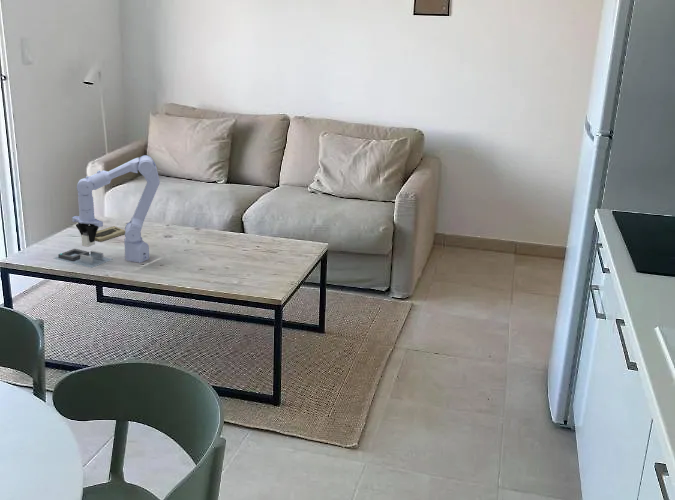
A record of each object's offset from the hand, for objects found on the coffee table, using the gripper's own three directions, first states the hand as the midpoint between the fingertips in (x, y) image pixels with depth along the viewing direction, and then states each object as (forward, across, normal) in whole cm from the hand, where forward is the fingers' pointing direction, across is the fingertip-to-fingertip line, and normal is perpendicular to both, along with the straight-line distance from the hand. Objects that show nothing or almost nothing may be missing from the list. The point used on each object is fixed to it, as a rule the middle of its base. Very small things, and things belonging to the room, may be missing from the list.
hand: (88, 241), depth 293 cm
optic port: (+8, -9, 0) cm, 12 cm away
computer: (+10, -19, +30) cm, 36 cm away
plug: (+2, 0, 0) cm, 2 cm away
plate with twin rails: (+8, +1, 0) cm, 8 cm away
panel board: (+10, -4, 0) cm, 10 cm away
